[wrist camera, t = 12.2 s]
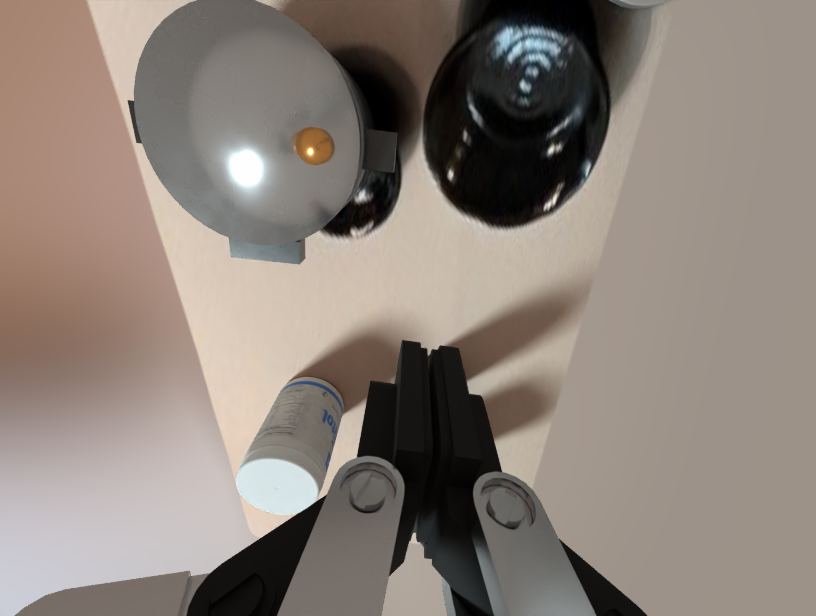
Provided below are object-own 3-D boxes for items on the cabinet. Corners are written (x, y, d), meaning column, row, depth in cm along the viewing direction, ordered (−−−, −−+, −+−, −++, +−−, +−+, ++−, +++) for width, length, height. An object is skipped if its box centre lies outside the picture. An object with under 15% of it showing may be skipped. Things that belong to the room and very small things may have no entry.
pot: (183, 29, 33) (83, -18, 23) (407, 58, 33) (404, 24, 24) (209, 220, 40) (143, 247, 31) (390, 240, 41) (384, 273, 31)
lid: (121, -14, 23) (85, -32, 20) (367, 19, 23) (362, 5, 21) (168, 230, 30) (145, 239, 27) (356, 251, 30) (351, 261, 28)
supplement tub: (354, 416, 53) (335, 508, 40) (297, 430, 55) (261, 524, 41) (328, 365, 49) (297, 450, 36) (268, 382, 51) (216, 469, 37)
